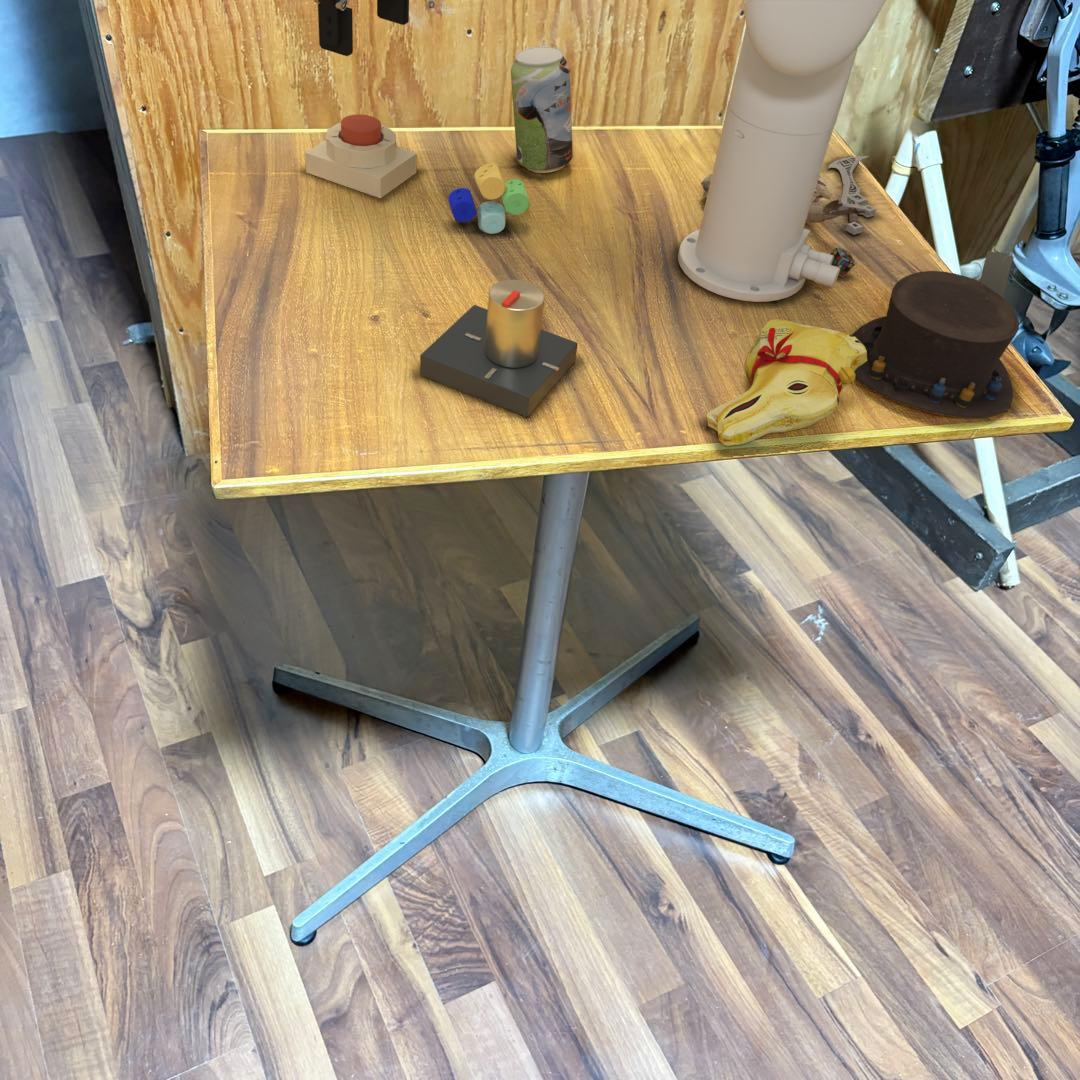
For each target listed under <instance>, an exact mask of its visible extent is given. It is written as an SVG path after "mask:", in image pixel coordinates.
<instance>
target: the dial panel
mask: <svg viewBox="0 0 1080 1080" xmlns="http://www.w3.org/2000/svg"><path fill="white" fill-rule="evenodd" d="M487 312H488V308H484V307H483V306H479V305H476V304H473V305H472V306H471V307H470V308H469V309H467V311H466V312H465V313H463V315H461V316H460V317H459V318H458V319H457V320H456V321H455V322H454V323H453V324H452V325H451V326H450V327H448V329H447V330H445V331H444V332H443V333H442V334H441V335H440V336H439V337H438V338H436V339H435V341H434V342H433V343H431V344H430V346H429V347H427V348H426V349H425V350H424V351H423V352H422V353H421V354H420V355H419V376H422V377H424V378H427V379H430V380H432V381H435V382H437V383H439V384H443V385H444V386H448V387H449V388H453V389H455V390H457V391H459V392H462V393H465V394H468V395H471V396H473V397H475V398H477V399H481V400H482V401H485V402H488V403H491V404H493V405H496V406H498V407H500V408H503V409H506V410H508V411H511V412H513V413H516V414H518V415H521V416H524V417H526V418H528V417H529V416H530V415H531V414H532V413H533V411H534V410H535V408H537V407H538V406H539V404H541V402H542V401H543V400H544V398H546V396H547V395H548V394H549V393H550V391H552V389H553V388H554V387H555V386H556V385H557V384H558V382H559V381H560V380H561V379H562V377H563V376H564V375H565V374H566V373H567V372H568V371H569V370H570V368H571V367H572V366H573V365H574V364H575V363H576V358H577V350H578V342H576V341H574V340H572V339H568V338H566V337H563V336H560V335H558V334H555V333H552V332H550V331H547V330H545V329H542V328H541V334H540V342H539V351H538V357H537V359H536V360H535V361H534V362H533V363H532V364H530V365H528V366H524V367H519V368H510V367H504V366H501V365H498V364H496V363H494V362H492V361H491V360H490V359H489V358H488V357H487V356H486V353H485V339H486V325H487Z"/></svg>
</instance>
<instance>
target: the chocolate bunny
mask: <svg viewBox="0 0 1080 1080" xmlns="http://www.w3.org/2000/svg"><path fill="white" fill-rule="evenodd" d="M866 361H867V351H866V348H865V346H864V345H863V344H862V343H861V342H860V341H859V340H858V339H857V338H856V337H855V336H852V334H849V333H845V332H844V331H843V332H842V331H838V330H835V329H830V328H826V327H820V326H814V325H808V324H802V323H798V322H795V321H790V320H784V319H782V318H781V319H779V318H778V319H770V320H769V321H768V322H767V323H766V324H765V326H763V328H762V329H761V331H760V333H759V334H758V335H757V337H756V339H755V341H754V343H753V344H752V346H751V349H750V350H749V352H748V355H747V357H746V360H745V369H746V374H747V376H748V377H749V379H750V387H749V388H748V390H747V391H744V392H743V393H741V394H740V395H737V396H736V397H734V398H732V399H731V400H730V399H729V400H728V401H725V403H723V404H720V405H719V406H717V407H714V408H713V409H711V410H709V411H708V412H707V413H706V420H707V421H706V422H707V426H708V427H709V428H711V429H713V430H714V431H716V432H717V438H718V441H719V442H720V443H721V444H722V445H724V446H727V447H730V446H731V447H732V446H736V445H738V446H740V445H744V444H747V443H750V442H752V441H754V440H756V439H759V438H761V437H763V436H766V435H768V434H770V433H772V434H773V433H787V432H790V431H795V430H799V429H804V428H807V427H810V426H812V425H815V424H816V423H818V422H820V421H822V420H823V419H825V418H826V417H828V416H829V415H832V414H833V413H834V412H835V411H836V410H837V408H838V406H839V404H840V398H839V397H840V396H839V395H840V394H841V392H842V390H843V389H844V388H845V387H846V386H847V385H850V384H851V385H853V384H854V381H855V380H856V379H855V376H856V375H855V373H854V371H855V370H856V369H857V368H858V367H859V366H861V365H862V364H863V363H865V362H866Z"/></svg>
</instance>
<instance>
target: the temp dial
mask: <svg viewBox="0 0 1080 1080" xmlns="http://www.w3.org/2000/svg"><path fill="white" fill-rule="evenodd" d="M545 299H546V298H545V293H544V292H543V290H542V289H541V288H540V287H539V286H537V285H536V284H534V283H532V282H529V281H527V280H522V279H505V280H501V281H498V282H496V283H494V284H493V285H491V287H490V288H489V291H488V300H487V310H488V312H487V325H486V339H485V353H486V356H487V357H488V358H489V359H490V360H491V361H492V362H494V363H496V364H498V365H501V366H504V367H510V368H519V367H524V366H528V365H530V364H532V363H533V362H534V361H535V360H536V359H537V357H538V351H539V342H540V334H541V329H542V325H543V316H544V306H545Z"/></svg>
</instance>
